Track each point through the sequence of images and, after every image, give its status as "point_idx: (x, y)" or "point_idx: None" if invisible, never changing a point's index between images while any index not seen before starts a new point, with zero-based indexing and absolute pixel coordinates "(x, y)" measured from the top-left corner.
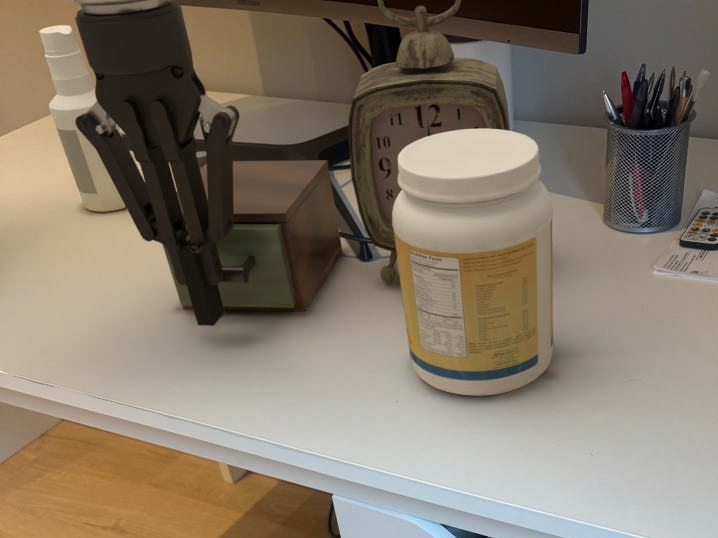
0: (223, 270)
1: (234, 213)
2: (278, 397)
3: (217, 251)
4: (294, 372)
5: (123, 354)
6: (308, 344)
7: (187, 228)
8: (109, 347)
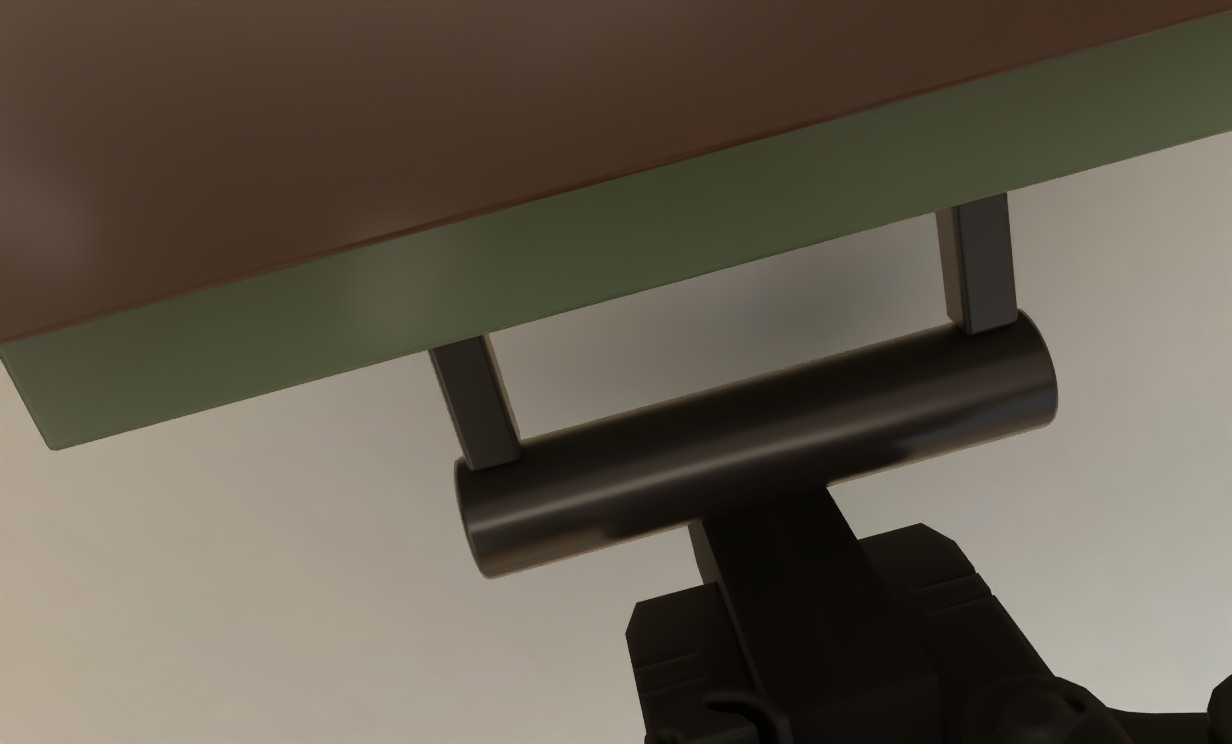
0: (896, 462)
1: (979, 79)
2: (1206, 662)
3: (1030, 649)
4: (1210, 489)
5: (248, 643)
6: (1195, 242)
7: (750, 725)
8: (105, 619)
